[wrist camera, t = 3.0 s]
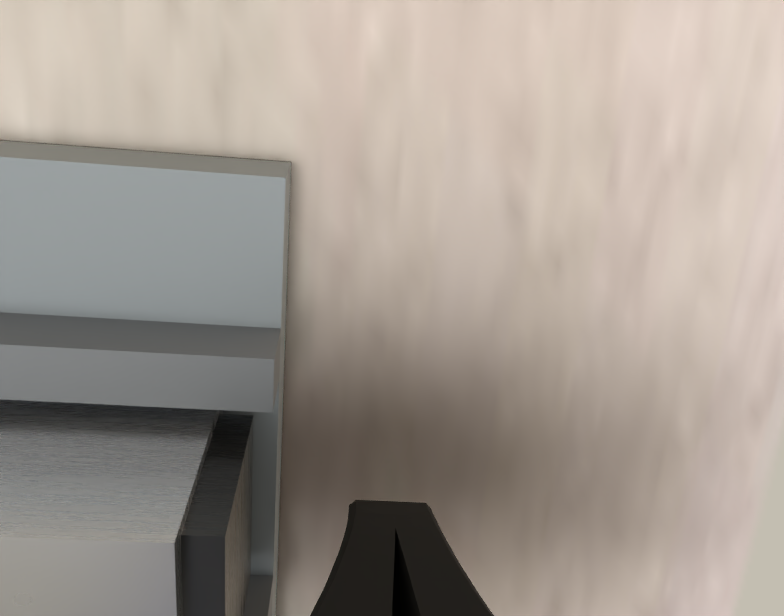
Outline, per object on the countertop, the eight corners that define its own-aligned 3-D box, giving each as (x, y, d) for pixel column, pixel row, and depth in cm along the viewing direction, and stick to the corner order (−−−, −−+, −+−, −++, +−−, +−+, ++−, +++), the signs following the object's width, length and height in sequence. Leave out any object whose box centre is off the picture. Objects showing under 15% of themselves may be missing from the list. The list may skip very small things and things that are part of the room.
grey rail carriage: (253, 567, 15) (220, 752, 11) (-35, 557, 15) (-164, 746, 11) (256, 394, 14) (219, 544, 10) (-66, 377, 13) (-228, 528, 9)
